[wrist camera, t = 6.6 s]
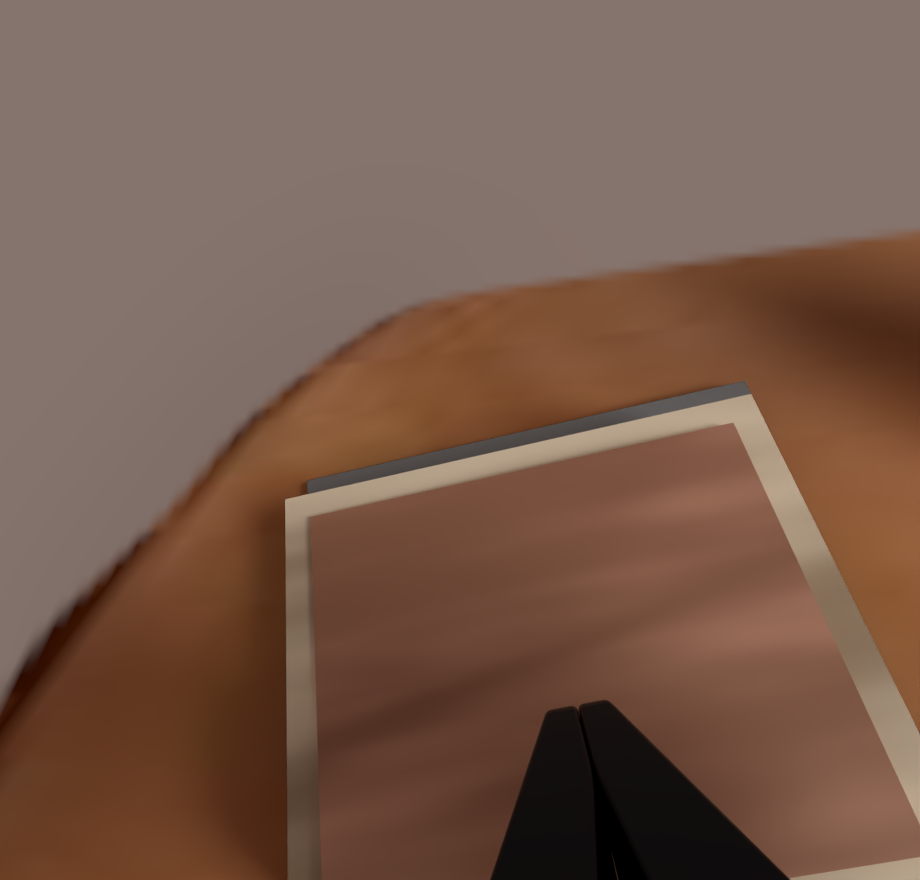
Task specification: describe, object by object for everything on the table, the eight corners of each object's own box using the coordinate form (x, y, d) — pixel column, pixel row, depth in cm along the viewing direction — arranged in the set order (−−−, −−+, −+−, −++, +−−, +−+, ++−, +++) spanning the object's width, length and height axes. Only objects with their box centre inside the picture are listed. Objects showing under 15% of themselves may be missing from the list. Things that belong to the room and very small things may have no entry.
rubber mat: (1428, 1810, 7) (1492, 1889, 7) (360, 1850, 8) (346, 1918, 8) (740, 391, 18) (744, 380, 18) (314, 488, 20) (307, 480, 19)
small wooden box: (1016, 908, 9) (753, 387, 14) (281, 1021, 10) (280, 494, 15) (912, 874, 12) (725, 450, 17) (347, 964, 13) (327, 537, 18)
